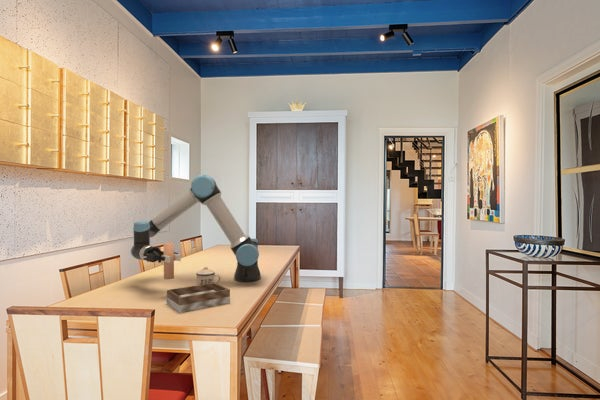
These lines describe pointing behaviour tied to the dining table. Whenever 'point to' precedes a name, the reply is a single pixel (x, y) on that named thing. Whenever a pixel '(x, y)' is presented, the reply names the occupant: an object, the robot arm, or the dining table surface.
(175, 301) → the box
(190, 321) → the dining table surface
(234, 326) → the dining table surface
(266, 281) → the dining table surface
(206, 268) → the teacup with lid
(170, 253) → the peg
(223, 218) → the robot arm
